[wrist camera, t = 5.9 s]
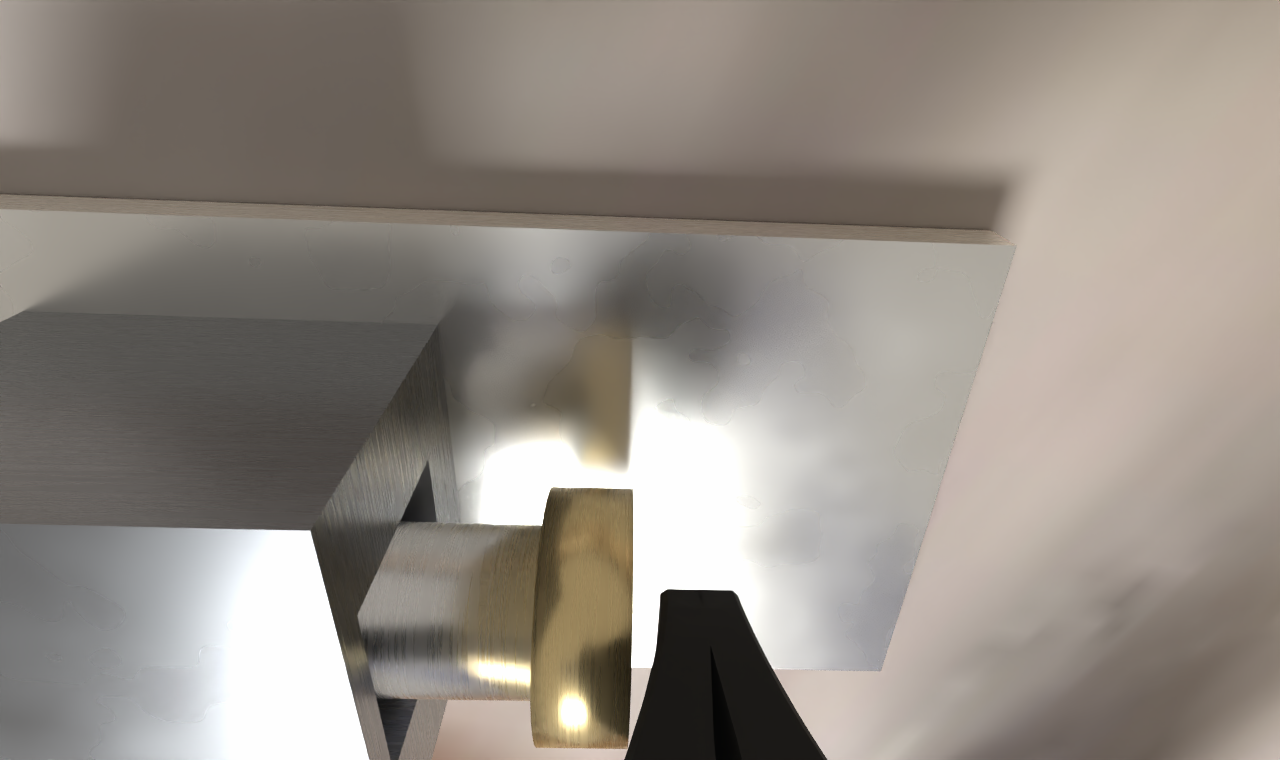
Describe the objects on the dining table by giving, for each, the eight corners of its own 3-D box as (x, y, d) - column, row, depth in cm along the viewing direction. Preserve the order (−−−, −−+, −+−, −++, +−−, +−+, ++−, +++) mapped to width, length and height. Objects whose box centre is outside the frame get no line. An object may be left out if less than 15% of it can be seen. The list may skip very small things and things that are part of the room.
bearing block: (991, 230, 13) (1292, 412, 7) (869, 641, 19) (980, 935, 13) (-140, 189, 13) (-847, 351, 7) (85, 626, 19) (-184, 929, 12)
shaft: (633, 442, 13) (634, 622, 9) (626, 603, 15) (625, 804, 11) (-145, 421, 13) (-487, 601, 9) (-41, 590, 15) (-279, 795, 11)
